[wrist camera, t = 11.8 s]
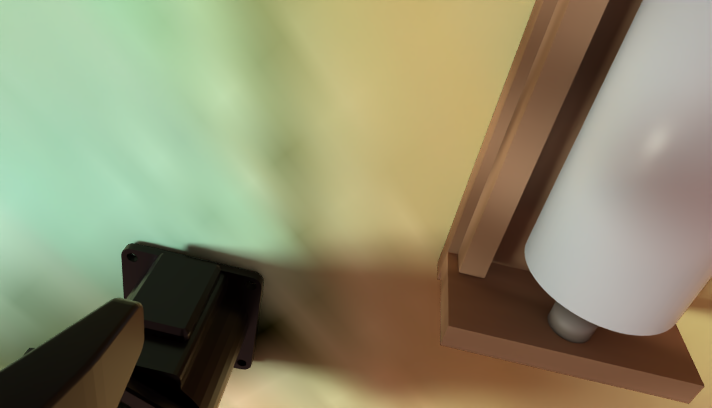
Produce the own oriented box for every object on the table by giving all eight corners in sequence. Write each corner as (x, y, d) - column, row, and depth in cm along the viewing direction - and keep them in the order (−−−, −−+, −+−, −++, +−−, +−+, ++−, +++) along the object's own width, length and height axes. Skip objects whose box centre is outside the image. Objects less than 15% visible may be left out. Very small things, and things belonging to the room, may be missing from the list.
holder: (641, 311, 24) (681, 412, 20) (437, 263, 24) (436, 354, 20) (994, -191, 14) (1223, -195, 10) (639, -277, 14) (722, -318, 10)
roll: (649, 246, 21) (703, 354, 17) (515, 215, 21) (534, 315, 17) (834, -37, 15) (986, 19, 11) (649, -81, 15) (729, -43, 11)
